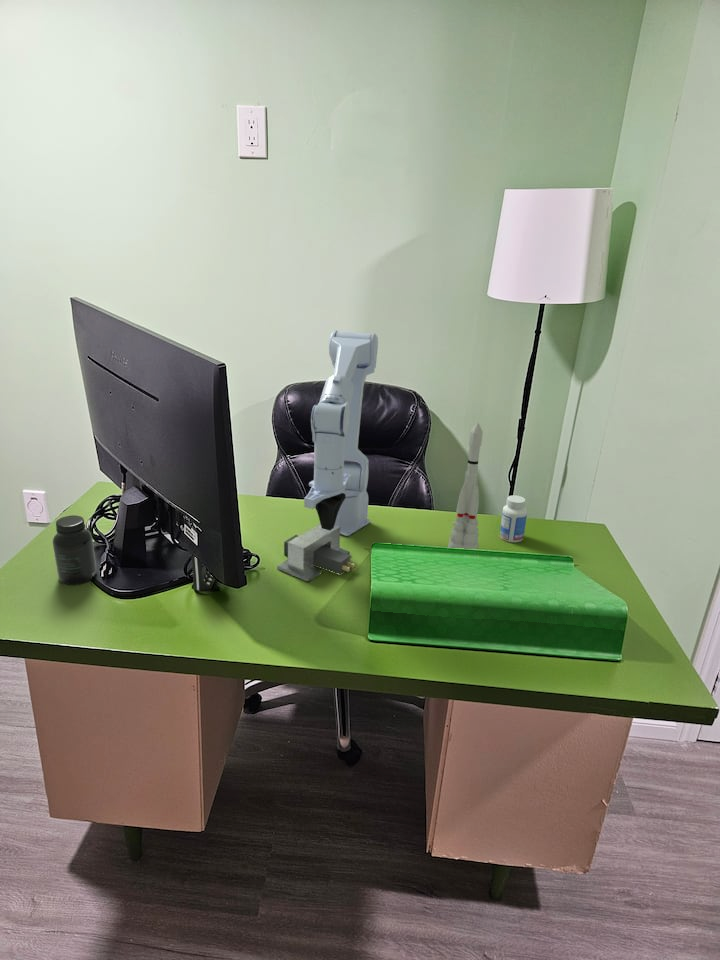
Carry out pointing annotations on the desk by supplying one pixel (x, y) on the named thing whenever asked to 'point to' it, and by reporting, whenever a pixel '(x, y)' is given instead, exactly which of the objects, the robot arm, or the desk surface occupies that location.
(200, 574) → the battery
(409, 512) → the desk surface
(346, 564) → the plug
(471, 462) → the rocket model
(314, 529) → the mounting bracket
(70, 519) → the supplement bottle
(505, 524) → the pill bottle
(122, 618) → the desk surface
